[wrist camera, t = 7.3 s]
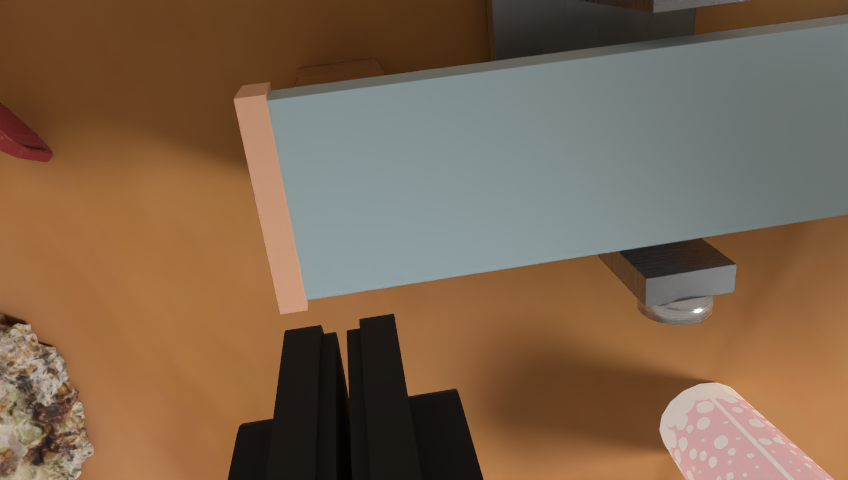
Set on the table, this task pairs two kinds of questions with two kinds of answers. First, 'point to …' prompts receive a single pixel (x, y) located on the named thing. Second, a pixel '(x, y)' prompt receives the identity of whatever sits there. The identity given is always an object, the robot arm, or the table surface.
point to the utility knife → (21, 138)
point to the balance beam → (546, 156)
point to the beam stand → (582, 29)
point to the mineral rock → (38, 411)
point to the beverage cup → (729, 439)
